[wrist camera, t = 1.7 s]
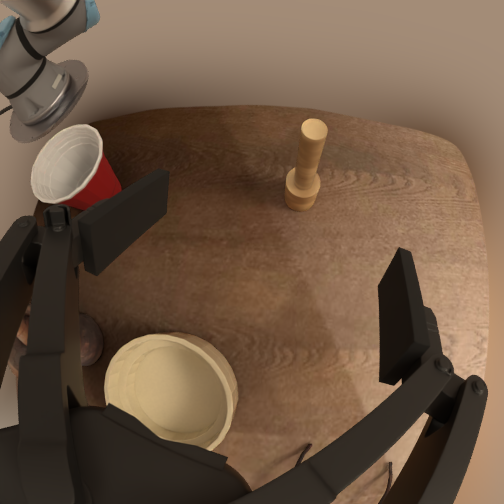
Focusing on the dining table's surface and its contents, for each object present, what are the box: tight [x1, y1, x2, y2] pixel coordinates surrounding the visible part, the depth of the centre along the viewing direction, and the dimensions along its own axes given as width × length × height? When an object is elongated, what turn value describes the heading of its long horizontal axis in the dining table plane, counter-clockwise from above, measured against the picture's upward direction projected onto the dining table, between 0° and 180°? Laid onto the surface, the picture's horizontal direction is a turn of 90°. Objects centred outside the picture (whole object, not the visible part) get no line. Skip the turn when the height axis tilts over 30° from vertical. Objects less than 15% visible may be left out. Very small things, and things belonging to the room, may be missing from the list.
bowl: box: [104, 332, 239, 451], centre depth 33 cm, size 15×15×6 cm
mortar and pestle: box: [7, 304, 104, 378], centre depth 28 cm, size 12×9×20 cm
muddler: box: [284, 119, 328, 212], centre depth 32 cm, size 4×4×16 cm
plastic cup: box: [30, 125, 122, 211], centre depth 36 cm, size 11×11×12 cm
